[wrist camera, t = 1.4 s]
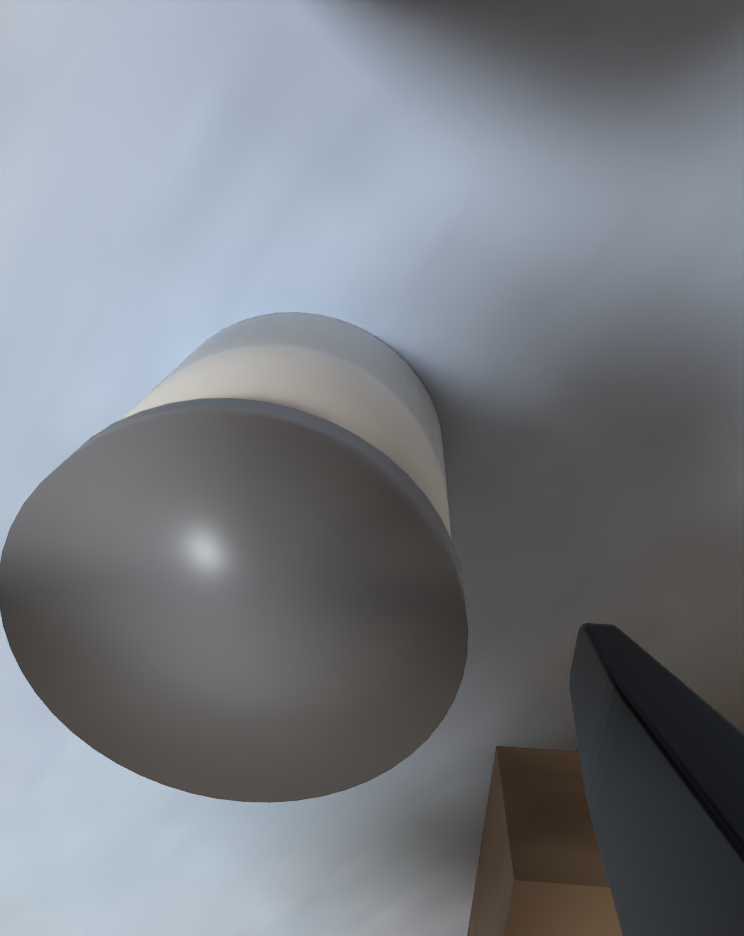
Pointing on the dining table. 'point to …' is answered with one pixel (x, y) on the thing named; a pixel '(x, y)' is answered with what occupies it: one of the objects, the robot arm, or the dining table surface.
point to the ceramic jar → (249, 570)
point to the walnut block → (540, 852)
